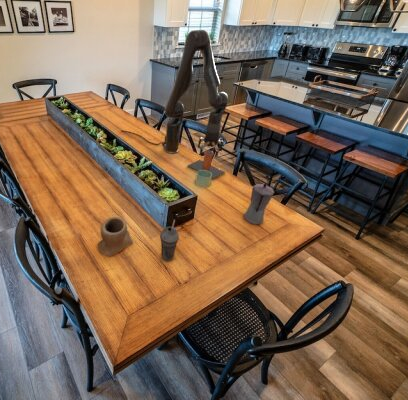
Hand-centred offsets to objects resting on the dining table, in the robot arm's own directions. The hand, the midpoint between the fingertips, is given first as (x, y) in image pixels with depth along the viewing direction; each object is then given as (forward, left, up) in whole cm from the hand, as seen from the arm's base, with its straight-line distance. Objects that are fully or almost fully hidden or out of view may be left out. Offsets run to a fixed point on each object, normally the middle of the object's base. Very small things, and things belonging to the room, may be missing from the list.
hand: (208, 155), depth 161 cm
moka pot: (+45, -19, -11) cm, 50 cm away
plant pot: (0, 0, -9) cm, 9 cm away
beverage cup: (+34, -68, -11) cm, 77 cm away
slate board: (0, 0, -11) cm, 11 cm away
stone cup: (+16, -80, -11) cm, 82 cm away
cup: (+8, -13, -11) cm, 19 cm away
